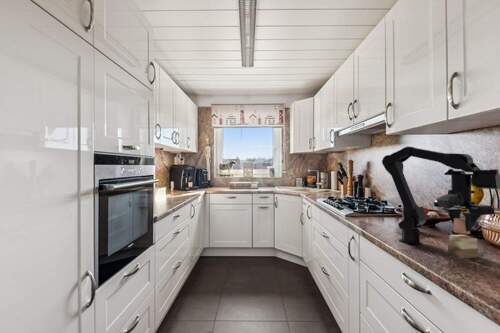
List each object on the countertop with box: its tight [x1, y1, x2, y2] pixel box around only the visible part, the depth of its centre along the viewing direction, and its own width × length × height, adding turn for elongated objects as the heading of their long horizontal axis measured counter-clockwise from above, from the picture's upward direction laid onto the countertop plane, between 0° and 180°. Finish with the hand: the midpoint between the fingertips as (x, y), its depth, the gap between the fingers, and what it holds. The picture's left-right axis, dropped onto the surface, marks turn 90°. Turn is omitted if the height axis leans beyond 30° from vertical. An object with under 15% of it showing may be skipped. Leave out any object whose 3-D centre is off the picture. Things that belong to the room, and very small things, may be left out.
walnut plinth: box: [447, 243, 479, 259], centre depth 93 cm, size 6×6×4 cm
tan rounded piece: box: [453, 217, 471, 235], centre depth 93 cm, size 5×5×5 cm
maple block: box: [449, 234, 478, 249], centre depth 93 cm, size 6×6×4 cm
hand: (461, 229), depth 93 cm, fingers closed on tan rounded piece, 4 cm apart
